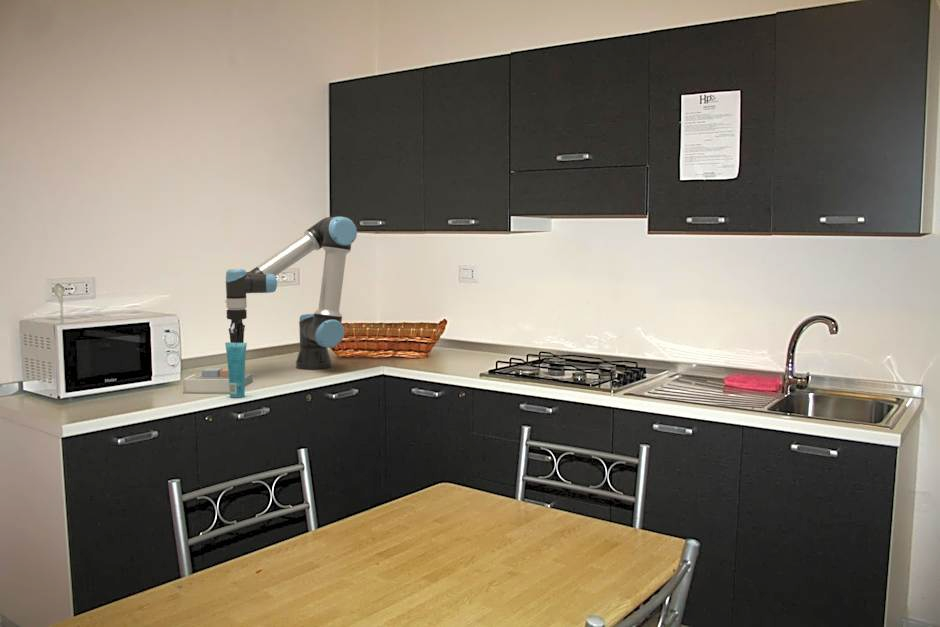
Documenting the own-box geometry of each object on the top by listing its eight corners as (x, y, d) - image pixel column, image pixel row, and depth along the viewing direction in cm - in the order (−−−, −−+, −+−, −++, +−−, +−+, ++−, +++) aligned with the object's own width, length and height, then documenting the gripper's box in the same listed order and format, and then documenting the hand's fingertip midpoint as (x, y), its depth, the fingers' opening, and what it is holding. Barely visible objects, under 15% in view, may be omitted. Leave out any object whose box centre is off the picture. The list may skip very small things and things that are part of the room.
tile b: (222, 374, 313) (222, 368, 313) (217, 377, 307) (217, 370, 307) (207, 374, 314) (207, 367, 313) (201, 377, 308) (201, 370, 307)
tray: (242, 388, 302) (241, 374, 301) (233, 393, 291) (232, 379, 291) (194, 387, 302) (193, 374, 302) (183, 393, 292) (183, 379, 291)
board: (252, 381, 315) (252, 374, 315) (242, 388, 302) (242, 380, 302) (206, 381, 315) (206, 373, 315) (194, 387, 302) (194, 379, 302)
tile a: (240, 374, 313) (240, 368, 313) (235, 377, 307) (235, 370, 307) (225, 374, 313) (225, 368, 313) (220, 377, 307) (220, 370, 307)
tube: (249, 395, 289) (247, 341, 287) (246, 397, 284) (245, 343, 282) (227, 395, 288) (226, 341, 286) (224, 398, 284) (223, 343, 282)
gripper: (232, 307, 324) (233, 365, 326) (221, 310, 311) (222, 371, 313) (251, 307, 323) (252, 366, 326) (240, 310, 310) (242, 371, 313)
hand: (237, 368), depth 319 cm, fingers closed
